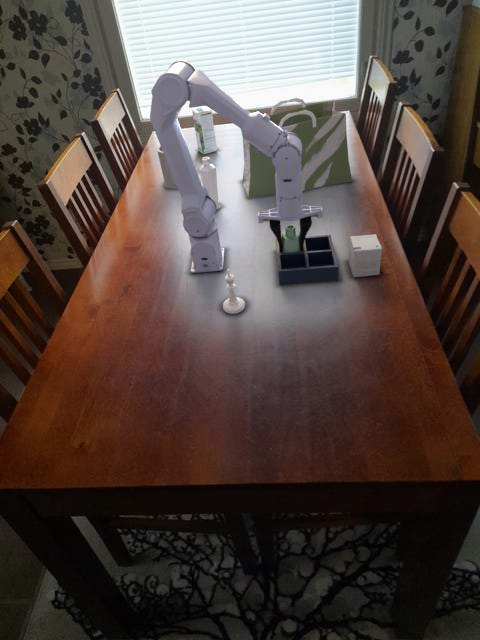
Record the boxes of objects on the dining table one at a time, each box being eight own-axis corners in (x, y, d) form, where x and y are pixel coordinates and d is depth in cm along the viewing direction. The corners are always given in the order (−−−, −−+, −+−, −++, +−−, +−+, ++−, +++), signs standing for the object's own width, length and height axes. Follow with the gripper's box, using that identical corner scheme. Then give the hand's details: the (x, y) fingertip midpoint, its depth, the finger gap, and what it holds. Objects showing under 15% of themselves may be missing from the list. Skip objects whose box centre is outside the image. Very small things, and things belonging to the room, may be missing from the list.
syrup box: (197, 150, 169) (190, 109, 159) (212, 145, 171) (206, 105, 161) (203, 155, 165) (196, 113, 155) (218, 150, 166) (212, 109, 157)
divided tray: (337, 280, 103) (338, 266, 100) (279, 285, 104) (278, 271, 102) (330, 248, 113) (330, 234, 110) (276, 252, 114) (275, 239, 111)
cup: (184, 174, 155) (177, 138, 146) (197, 182, 148) (190, 146, 140) (160, 182, 151) (152, 147, 143) (172, 192, 145) (164, 155, 137)
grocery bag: (248, 200, 136) (240, 120, 120) (242, 180, 146) (233, 104, 131) (352, 182, 137) (358, 101, 122) (338, 164, 147) (341, 87, 132)
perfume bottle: (219, 211, 133) (212, 161, 123) (205, 211, 134) (196, 162, 124) (223, 203, 136) (216, 154, 126) (209, 203, 137) (201, 155, 127)
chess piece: (244, 298, 102) (239, 261, 95) (245, 312, 98) (240, 275, 92) (222, 300, 102) (216, 264, 96) (223, 314, 99) (216, 278, 92)
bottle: (300, 256, 108) (300, 230, 103) (283, 257, 108) (281, 232, 104) (299, 246, 111) (298, 221, 106) (282, 248, 111) (280, 223, 107)
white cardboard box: (373, 260, 107) (376, 233, 102) (379, 275, 103) (382, 248, 98) (347, 262, 108) (349, 235, 103) (352, 277, 103) (354, 250, 98)
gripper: (320, 181, 102) (319, 234, 111) (256, 187, 103) (260, 239, 112) (324, 196, 96) (323, 250, 106) (256, 202, 98) (261, 255, 107)
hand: (291, 245), depth 108 cm, fingers closed on bottle, 4 cm apart
